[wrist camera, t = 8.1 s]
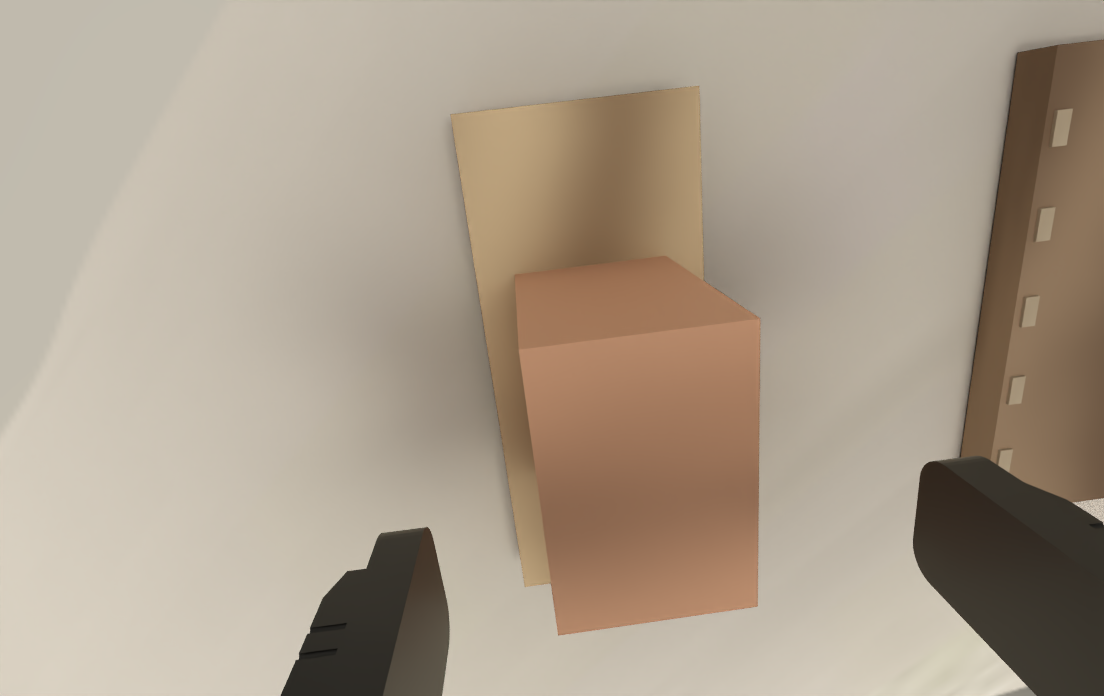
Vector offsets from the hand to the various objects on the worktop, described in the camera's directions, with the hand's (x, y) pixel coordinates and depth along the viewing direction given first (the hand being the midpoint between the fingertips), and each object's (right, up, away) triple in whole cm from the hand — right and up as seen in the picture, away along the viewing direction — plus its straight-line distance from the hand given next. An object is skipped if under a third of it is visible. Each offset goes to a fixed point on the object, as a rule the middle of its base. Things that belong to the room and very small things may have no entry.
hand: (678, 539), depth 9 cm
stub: (-1, +3, +8) cm, 8 cm away
